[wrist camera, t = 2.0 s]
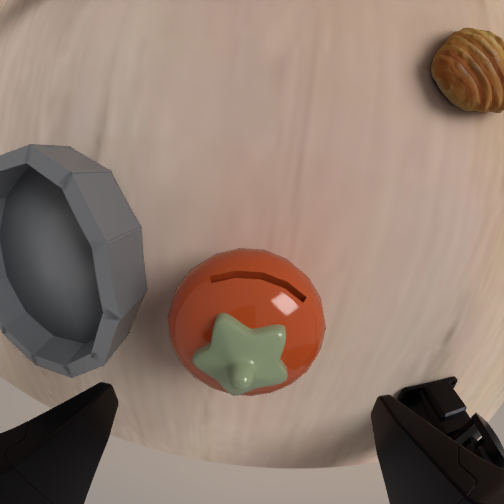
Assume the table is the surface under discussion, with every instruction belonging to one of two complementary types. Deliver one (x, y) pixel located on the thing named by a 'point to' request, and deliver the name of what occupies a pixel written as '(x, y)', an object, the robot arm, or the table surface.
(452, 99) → the pastry
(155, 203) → the table surface
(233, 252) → the tomato
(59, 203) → the bowl
